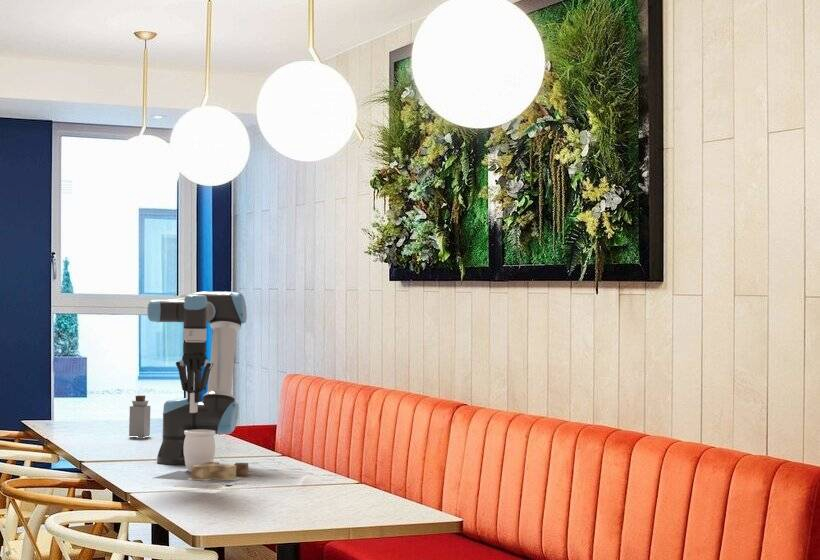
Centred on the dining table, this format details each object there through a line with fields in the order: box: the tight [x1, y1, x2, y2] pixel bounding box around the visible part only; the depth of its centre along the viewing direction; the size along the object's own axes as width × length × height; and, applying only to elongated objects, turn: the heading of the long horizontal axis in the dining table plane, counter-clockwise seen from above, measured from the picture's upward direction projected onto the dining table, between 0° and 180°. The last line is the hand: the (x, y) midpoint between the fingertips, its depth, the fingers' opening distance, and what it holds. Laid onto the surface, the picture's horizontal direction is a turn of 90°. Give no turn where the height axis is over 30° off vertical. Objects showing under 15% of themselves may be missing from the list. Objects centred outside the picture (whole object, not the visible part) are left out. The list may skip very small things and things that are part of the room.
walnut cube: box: [233, 462, 249, 478], centre depth 367 cm, size 4×4×4 cm
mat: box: [153, 470, 253, 488], centre depth 363 cm, size 27×18×1 cm, turn 74°
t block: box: [190, 461, 236, 480], centre depth 362 cm, size 12×12×4 cm
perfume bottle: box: [128, 394, 151, 437], centre depth 484 cm, size 7×7×18 cm
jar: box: [184, 429, 216, 472], centre depth 378 cm, size 11×10×15 cm
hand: (193, 412), depth 370 cm, fingers closed
